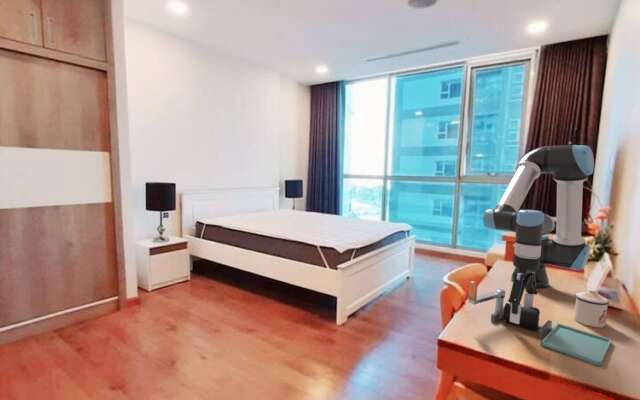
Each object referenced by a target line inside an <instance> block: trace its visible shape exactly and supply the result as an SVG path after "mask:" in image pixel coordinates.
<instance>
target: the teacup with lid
mask: <svg viewBox="0 0 640 400" xmlns="http://www.w3.org/2000/svg"><path fill="white" fill-rule="evenodd" d="M609 303H610V301H609V300H608V299H607V298H606V297H605V296H602V295H600V294H599V293H597V291H596V289H589V290H588V291H585V292H583V291H582V292H576V294H575V304H574V305H575V306H574V316H573V317H574V320H575V321H576V322H577V323H580V324H581V325H584V326H587V327H591V328H604V327H606V324H607V315H608V305H609Z"/></svg>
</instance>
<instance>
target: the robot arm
mask: <svg viewBox="0 0 640 400" xmlns="http://www.w3.org/2000/svg"><path fill="white" fill-rule="evenodd" d="M594 166H595V159H594V154H593V150H592V148H591V147H590V146H588V145H582V144H580V145H579V144H578V145H577V144H571V145H570V144H568V145H567V144H566V145H544V146H540V147H537V148H534V149H533V150H531V151H529V152H528V153H526V154H525V155H524V156H523V157H522V158H521V159H519V161H518V162H517V164H516V166H515V169H514V171H515V173H514V175H513V176H512V177H511V180H510V181H509V183H508V185H507V186H506V189H505V191H504V192H503V195H502V196H501V198H500V199H499V202H498V203H497V205H496V207H495V208H490V209H486V210H485V211H484V212H483V213H484V214H483V216H482V223H483V226H484V227H485V228H487V229H492V230H496V231H503V232H511V233H515V238H514V239H515V240H514V243H513V245H512V246H513V248H514V250H513V253H514V255H513V262H512V265H513V266H514V269H513V271H512V273H511V278H510V280H511V281H512V286H511V290H510V294H509V298H508V299H507V303H511V311H510V322H513V323H516V324H520V312H521V307H522V304H521V301H522V299H523V307H525V308H529V306H530V307H534V298H535V295H538V291H537V289H545V288H548V287H549V286H550V279H549V277H548V273H547V270H546V269H547V265H549V266H554V267H558V268H563V269H568V270H575V271H582V270H584V268H585V267H586V265H587V263H588V260H589V256H590V253H591V245H590V244H588V243H586V239H585V237H583V236H582V219H583V218H582V217H583V196H584V195H583V193H584V192H583V188H584V182H586V181H587V180H588V178H589V176H590V175H592V174H593V173H594V169H595V168H594ZM541 174H548V175H549V174H552V180H554V182H556V221H554V219H553V217H552V216H550V215H549V214H546V213H544V212H543V211H540V210H536V209H535V210H534V209H520V208H521V206H522V204H523V202H524V200H525V198H526V196H528V193H529V191H530V189H531V187H532V185H533V183H534V182H535V180H536V179H538V178H539V177H540V176H541ZM555 222H556V223H555ZM555 224H556V225H555ZM555 227H556V229H555ZM554 229H555V230H556V231H555V234H554V235H553V236H552V237H551V238H550V237H549V234H550V233H551V232H552V231H553V230H554ZM523 295H524V298H523Z"/></svg>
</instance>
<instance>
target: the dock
mask: <svg viewBox="0 0 640 400" xmlns="http://www.w3.org/2000/svg"><path fill="white" fill-rule="evenodd" d="M504 299H505V298H499V297H498V298H495V305H494V306H495V307H494V312H493V313H492V314H491V317H490V323H495V322H497V321H498V320H502V319H503V312H504V307H505V306H504ZM552 323H553V321H552V320H550V319H548V320H546V321H545V323H544V324H543V325H542V326H541V327H540V328H538V333H537V334H538V335H537V338H538V339H541V340H543V339H544V338H545V337H546V336H547V335H548V333H549V332H550V331H551V330H552Z"/></svg>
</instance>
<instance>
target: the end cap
mask: <svg viewBox="0 0 640 400" xmlns="http://www.w3.org/2000/svg"><path fill="white" fill-rule="evenodd" d="M503 307H504V312H503V316H502V319H503V320H504V321H505V322H506V323H508V324H513V325H515V326H519V327H521V328H522V327H523V328H525V329H526V328H527V329H530V330H534V331H537V330H539V324H540V314H541V312H540V309H539V308H537V307H534V306H533V307H530V306H529V308H525V307H524V306H521V312H520V324H516V323H513V322H510V311H511V303H510V302H506V303H505V304H504V306H503Z"/></svg>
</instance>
